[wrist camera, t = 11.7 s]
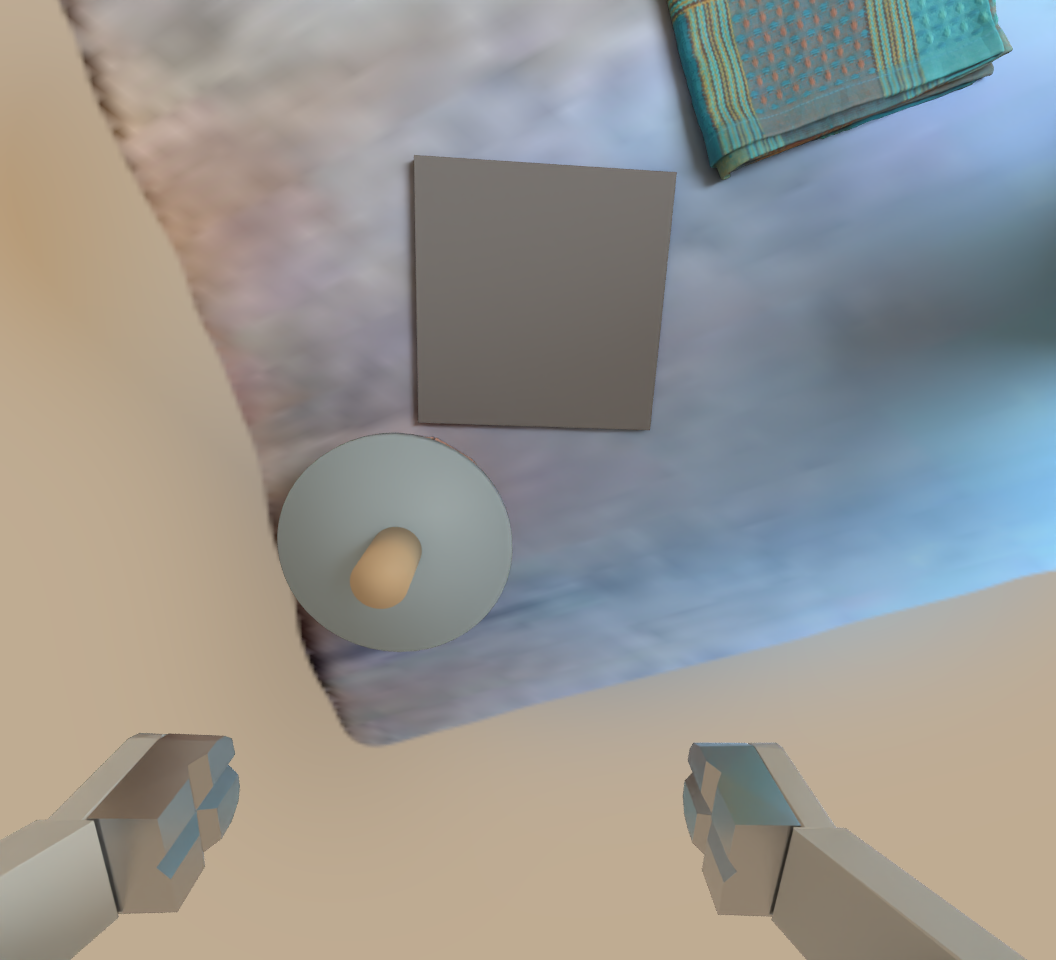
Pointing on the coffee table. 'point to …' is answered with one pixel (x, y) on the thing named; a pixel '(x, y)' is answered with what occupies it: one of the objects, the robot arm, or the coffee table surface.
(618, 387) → the mat
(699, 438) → the coffee table surface
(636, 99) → the coffee table surface
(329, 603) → the lid
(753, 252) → the coffee table surface
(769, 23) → the dish towel
